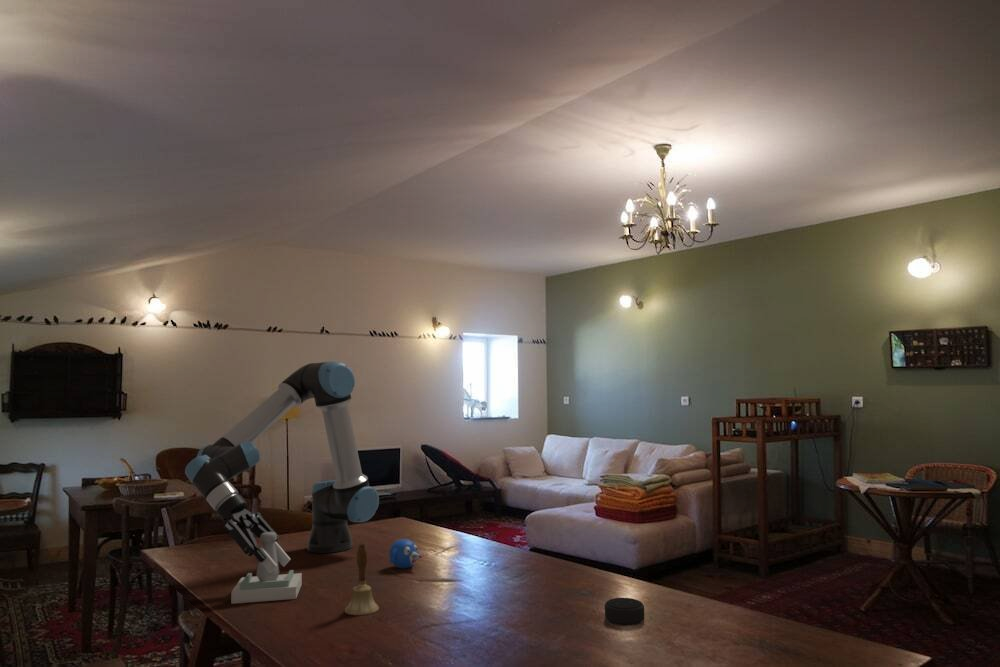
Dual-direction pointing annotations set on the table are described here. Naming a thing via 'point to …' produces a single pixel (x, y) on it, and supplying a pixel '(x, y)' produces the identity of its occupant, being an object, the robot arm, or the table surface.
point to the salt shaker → (270, 548)
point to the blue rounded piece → (404, 553)
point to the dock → (266, 588)
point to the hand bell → (361, 589)
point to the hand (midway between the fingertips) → (280, 565)
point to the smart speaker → (624, 611)
